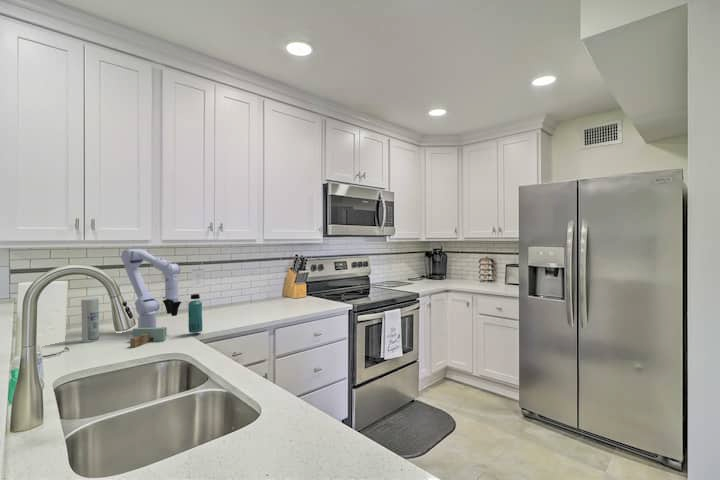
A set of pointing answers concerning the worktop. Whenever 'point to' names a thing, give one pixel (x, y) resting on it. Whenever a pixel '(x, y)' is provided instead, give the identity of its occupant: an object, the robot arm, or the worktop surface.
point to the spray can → (90, 319)
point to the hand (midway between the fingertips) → (171, 314)
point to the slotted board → (140, 340)
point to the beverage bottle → (195, 315)
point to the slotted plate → (151, 333)
